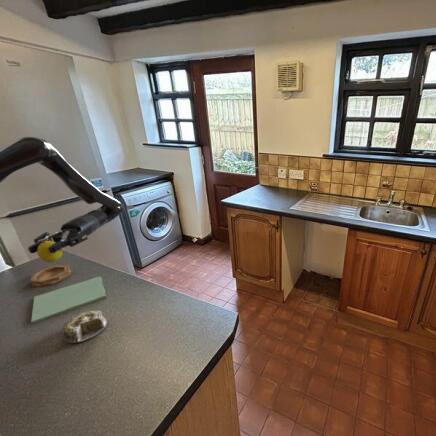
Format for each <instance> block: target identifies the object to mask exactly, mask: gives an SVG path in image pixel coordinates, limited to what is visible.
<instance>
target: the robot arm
mask: <svg viewBox="0 0 436 436" xmlns="http://www.w3.org/2000/svg"><path fill="white" fill-rule="evenodd" d="M33 164H34V165H35V164H39V165H41V166H43V167H44V168H46V169H47V170H49V171H50V172H51V173H53V174H54V175H55V176H56V177H58V178H59V179H60V180H61V182H62V183H63V184H64V185H65V186H66V187H67V188H68V189H69V190H70V191H71V192H72V193H73V194H74V195H75V196H77V197H78V198H79V199H80V200H81V201H83V202H84V203H86V204H87V205H94V204H97V203H98V204H101V205H100V207H98V208H96V209H93V210H90V211H88V212H86V213H84V214H82V215H79V216H76V217H75V218H72V219H71V220H69V221H66V222H65V223H63V224H62V225H61V227H60V230H58V231H55V232H53V233H49V232H48V231H45V232H43V233H42V234H40V235H39V236H37V237H36V238H34V239H33V242H34V244H32V245H29V246H28V247H27V250H28V252H29V253H30V254H36V253H37V249H38V246H39V245H40V244H41V243H43V242H44V241H53V242H56V243H55V244H53V245H52V246H50V247H49V251H50V253H55V252H57V251H58V250H60V249H62V250H63V249H65V248H68V247H70V248H72V247H75V246H77V245H79V244H81V243H83V242H85V241H87V240H88V239H89V238H88V236H90V235H92V234H93V233H95V232H96V231H97V230H99V229H100V228H102V227H103V226H105V225H106V224H109V223H110V222H113V220H115V219H116V218H117V217H118V216H120V215H121V214H122V213H123V212H124V211H125V208H124V205H123V204H122V202H120V201H119V200H118V199H116V198H114V197H112V196H110V195H108V194H106V193H104V192H102V191H101V190H100V189H98V187H96V186H95V185H94V184H93V183H91V182H90V181H89V180H88V179H87V178H85V177H84V176H83V175H82V174H81V173H79V172H78V171H77V170H76V169H75V168H74V167H73V166H72V165H71V164H69V162H68V161H67V160H66V159H65V158H64V157H63V155H61V154H60V153H59V151H58V150H57V149H56V148H55V147H54V146H53V145H52V143H50V142H49V141H47V140H45V139H43V138H39V137H37V136H23V137H21V138H19V139H16V140H15V141H14V142H12V143H10V144H9V145H7V146H5V147H4V148H2V149H1V150H0V184H1V183H2V182H4V181H5V180H6V179H7V178H8V177H9V176H11V175H12V174H13V173H15V172H18V171H19V170H22V169H24V168H26V167H29V166H32V165H33Z"/></svg>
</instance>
